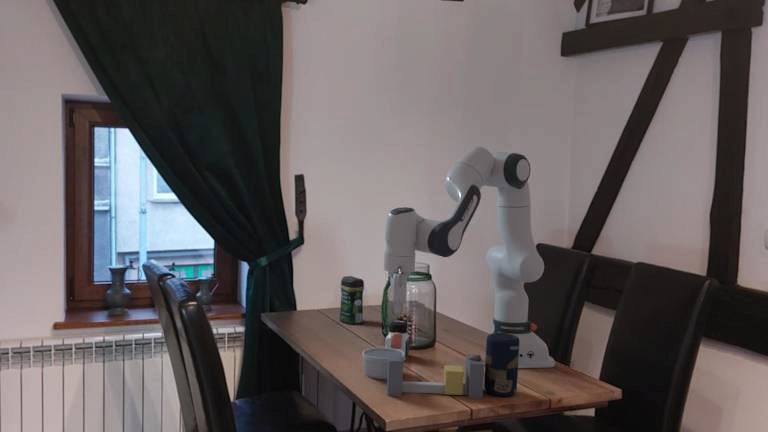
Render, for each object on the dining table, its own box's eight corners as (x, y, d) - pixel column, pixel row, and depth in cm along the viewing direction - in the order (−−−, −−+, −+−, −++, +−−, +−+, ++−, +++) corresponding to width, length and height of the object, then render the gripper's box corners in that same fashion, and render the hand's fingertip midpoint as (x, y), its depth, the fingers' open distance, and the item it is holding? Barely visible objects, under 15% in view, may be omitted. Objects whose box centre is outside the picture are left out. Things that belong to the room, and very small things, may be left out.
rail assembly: (477, 388, 210) (479, 351, 209) (482, 398, 201) (484, 360, 200) (387, 385, 210) (388, 348, 209) (387, 395, 201) (389, 357, 200)
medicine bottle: (405, 360, 236) (407, 325, 235) (384, 358, 237) (385, 323, 236) (409, 355, 243) (410, 320, 242) (388, 353, 244) (390, 318, 243)
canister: (498, 385, 213) (501, 326, 212) (523, 394, 206) (526, 333, 205) (476, 391, 207) (479, 331, 206) (502, 400, 200) (505, 338, 199)
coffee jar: (336, 320, 289) (337, 275, 287) (352, 318, 294) (353, 274, 292) (349, 325, 281) (351, 279, 280) (365, 323, 286) (367, 278, 285)
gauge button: (401, 346, 206) (401, 332, 205) (401, 349, 203) (402, 335, 202) (390, 345, 206) (390, 332, 205) (390, 348, 202) (391, 335, 202)
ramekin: (375, 365, 229) (376, 344, 228) (411, 373, 222) (412, 351, 222) (353, 375, 218) (354, 353, 217) (390, 384, 211) (391, 361, 210)
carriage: (460, 388, 208) (461, 365, 208) (462, 394, 203) (463, 371, 202) (443, 387, 208) (444, 365, 208) (445, 394, 203) (446, 371, 202)
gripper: (412, 270, 192) (410, 321, 193) (408, 259, 212) (406, 305, 213) (389, 269, 192) (387, 320, 193) (387, 259, 212) (385, 304, 213)
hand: (397, 312), depth 203 cm, fingers closed
